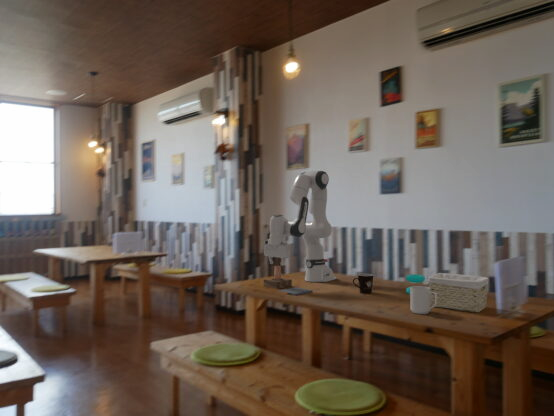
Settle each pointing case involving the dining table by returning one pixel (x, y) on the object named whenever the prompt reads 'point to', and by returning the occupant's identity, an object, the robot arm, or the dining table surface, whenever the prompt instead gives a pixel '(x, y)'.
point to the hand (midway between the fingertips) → (276, 264)
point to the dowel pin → (277, 273)
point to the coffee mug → (365, 283)
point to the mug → (421, 299)
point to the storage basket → (459, 291)
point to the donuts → (414, 280)
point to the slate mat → (296, 291)
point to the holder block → (277, 283)
